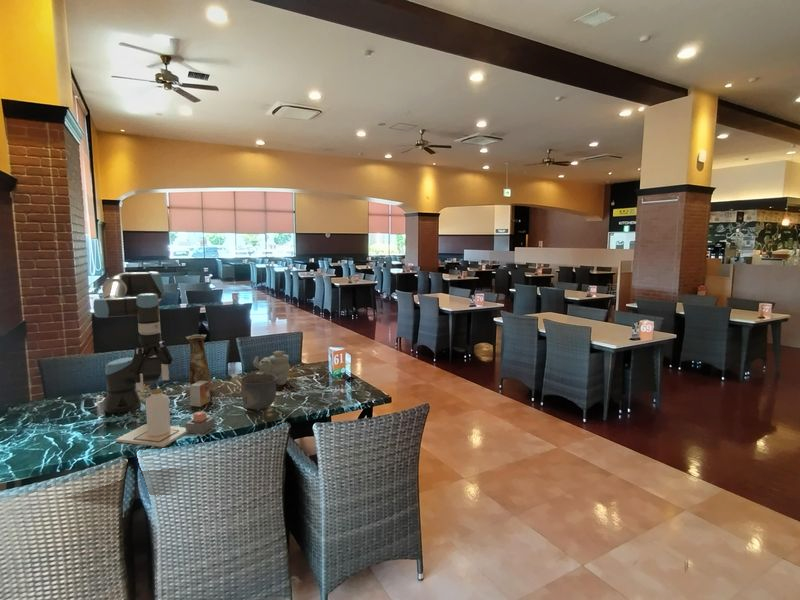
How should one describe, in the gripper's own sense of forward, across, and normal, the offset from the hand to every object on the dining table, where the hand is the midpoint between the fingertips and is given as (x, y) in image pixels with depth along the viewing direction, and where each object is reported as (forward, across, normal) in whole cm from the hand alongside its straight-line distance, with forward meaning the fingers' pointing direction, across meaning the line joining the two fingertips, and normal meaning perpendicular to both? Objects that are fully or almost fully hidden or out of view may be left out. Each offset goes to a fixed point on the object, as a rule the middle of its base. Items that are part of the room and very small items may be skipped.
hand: (153, 384), depth 180 cm
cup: (+22, +39, -24) cm, 51 cm away
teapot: (+23, +76, -10) cm, 80 cm away
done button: (+19, +11, -12) cm, 25 cm away
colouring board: (+22, +1, +2) cm, 22 cm away
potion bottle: (+21, +1, 0) cm, 21 cm away
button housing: (+22, +11, -12) cm, 27 cm away
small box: (+22, +38, +8) cm, 45 cm away
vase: (+23, +55, +21) cm, 63 cm away
